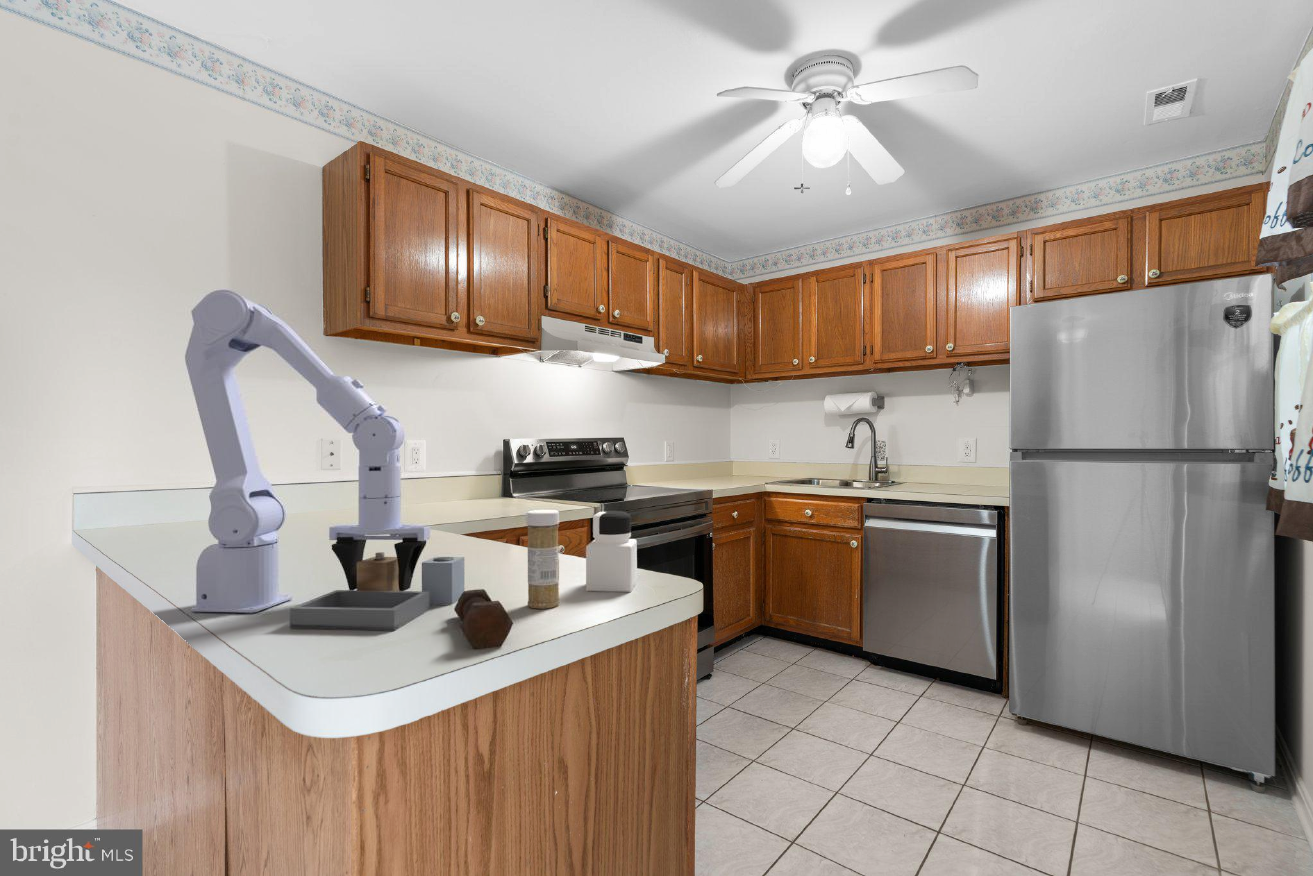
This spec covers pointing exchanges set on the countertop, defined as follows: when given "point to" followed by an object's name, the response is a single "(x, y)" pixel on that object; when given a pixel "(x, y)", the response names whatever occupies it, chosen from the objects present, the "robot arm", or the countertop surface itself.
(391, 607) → the tray
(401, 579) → the robot arm
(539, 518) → the sprinkles bottle
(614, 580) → the medicine bottle
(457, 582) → the oversize block
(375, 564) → the block
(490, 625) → the bolt
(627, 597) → the countertop surface
